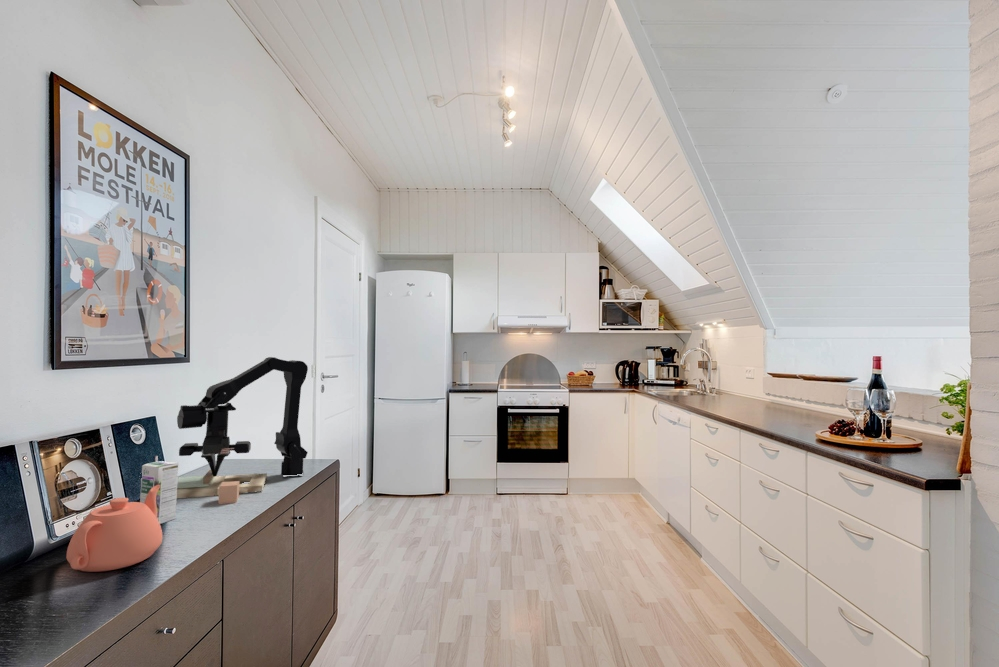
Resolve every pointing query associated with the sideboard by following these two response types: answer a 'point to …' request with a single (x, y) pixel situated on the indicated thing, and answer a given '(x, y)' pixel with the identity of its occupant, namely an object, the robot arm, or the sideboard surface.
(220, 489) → the block
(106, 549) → the teapot
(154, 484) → the syrup box
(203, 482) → the cover
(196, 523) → the sideboard surface
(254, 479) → the puzzle board
